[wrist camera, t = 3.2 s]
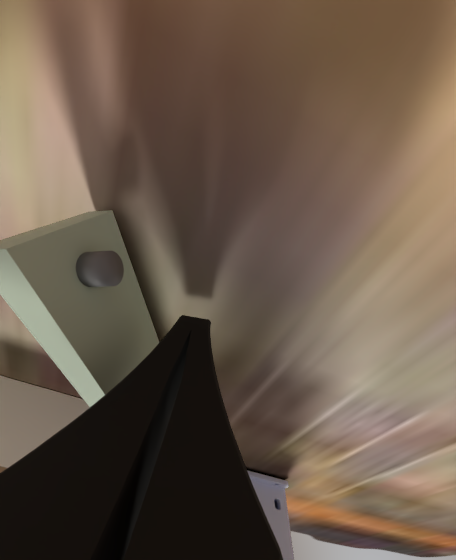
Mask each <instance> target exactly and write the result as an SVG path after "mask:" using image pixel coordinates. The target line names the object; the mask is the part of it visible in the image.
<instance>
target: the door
mask: <svg viewBox="0 0 456 560" xmlns="http://www.w3.org/2000/svg"><path fill="white" fill-rule="evenodd" d="M0 295H1V296H2V297H3V298H4V300H5V301H6V302H7V304H8V305H9V306H10V307H11V309H12V310H13V311H14V312H15V314H16V315H17V316H18V317H19V319H20V320H21V321H22V322H23V324H24V325H25V326H26V327H27V329H28V330H29V331H30V333H31V334H32V335H33V336H34V338H35V339H36V340H37V341H38V343H39V344H40V345H41V346H42V348H43V349H44V350H45V351H46V353H47V354H48V355H49V357H50V358H51V359H52V360H53V362H54V363H55V364H56V365H57V367H58V368H59V369H60V370H61V372H62V373H63V374H64V375H65V377H66V378H67V379H68V380H69V382H70V383H71V384H72V386H73V387H74V388H75V389H76V391H77V392H78V393H79V394H80V396H81V397H82V398H83V399H84V401H85V402H86V403H87V404H88V406H89V407H91V406H92V405H93V404H95V403H96V402H97V401H98V400H100V399H101V398H102V397H103V396H104V395H106V394H107V393H108V392H109V391H110V390H111V389H113V388H114V387H115V386H116V385H117V384H118V383H119V382H121V381H122V380H123V379H124V378H125V377H126V376H127V375H128V374H129V373H130V372H131V371H132V370H134V369H135V368H136V367H137V366H138V365H139V364H140V363H141V362H142V361H143V360H144V359H145V358H146V357H147V356H148V355H149V354H150V352H151V351H152V350H153V349H154V348H155V347H156V346H157V345H158V344H159V340H158V337H157V334H156V331H155V329H154V326H153V323H152V320H151V317H150V315H149V312H148V309H147V306H146V303H145V301H144V298H143V295H142V292H141V289H140V287H139V284H138V281H137V278H136V275H135V273H134V270H133V267H132V264H131V261H130V259H129V256H128V253H127V250H126V247H125V245H124V242H123V239H122V236H121V233H120V231H119V228H118V225H117V222H116V219H115V217H114V214H113V211H112V210H108V211H94V212H87V213H84V214H81V215H78V216H75V217H71V218H68V219H65V220H62V221H59V222H56V223H53V224H50V225H47V226H43V227H40V228H37V229H34V230H31V231H28V232H25V233H22V234H18V235H15V236H12V237H9V238H6V239H3V240H0Z"/></svg>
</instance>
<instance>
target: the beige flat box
mask: <svg viewBox="0 0 456 560" xmlns="http://www.w3.org/2000/svg"><path fill="white" fill-rule="evenodd" d="M89 408H90V407H89V406H88V404H87V403H86V402H85V401H84V399H81V398H77V397H74V396H70V395H67V394H63V393H60V392H56V391H53V390H49V389H46V388H42V387H39V386H35V385H32V384H28V383H25V382H21V381H18V380H14V379H11V378H7V377H4V376H0V473H1V472H2V471H4V470H5V469H7V468H8V467H10V466H11V465H13V464H14V463H16V462H17V461H19V460H20V459H21V458H23V457H24V456H26V455H27V454H28V453H30V452H31V451H33V450H34V449H35V448H37V447H38V446H39V445H41V444H42V443H44V442H45V441H46V440H48V439H49V438H50V437H52V436H53V435H54V434H56V433H57V432H58V431H60V430H61V429H63V428H64V427H65V426H67V425H68V424H69V423H71V422H72V421H73V420H75V419H76V418H77V417H78V416H80V415H81V414H82V413H84V412H85V411H86V410H87V409H89Z"/></svg>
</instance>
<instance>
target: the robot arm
mask: <svg viewBox="0 0 456 560" xmlns="http://www.w3.org/2000/svg"><path fill="white" fill-rule="evenodd" d="M210 324H211V322H210V321H209V320H207V319H201V318H196V317H190V316H184V315H182V316H181V317H180V318H179V319H178V321H177V322H176V323H175V325H174V326H173V327H172V328H171V330H170V331H169V332H168V333H167V335H166V336H165V337H164V338H163V339H162V340H161V341H160V343H159V344H158V345H157V346H156V347H155V348H154V349H153V350H152V351H151V352H150V354H149V355H148V356H147V357H146V358H145V359H144V360H143V361H142V362H141V363H140V364H139V365H138V366H137V367H136V368H135V369H134V370H132V371H131V372H130V373H129V374H128V375H127V376H126V377H125V378H124V379H123V380H122V381H121V382H119V383H118V384H117V385H116V386H115V387H114V388H113V389H111V390H110V391H109V392H108V393H107V394H106V395H104V396H103V397H102V398H101V399H100V400H98V401H97V402H96V403H95V404H93V405H92V406H91V407H90V408H89V409H87V410H86V411H85V412H84V413H82V414H81V415H80V416H78V417H77V418H76V419H75V420H73V421H72V422H71V423H69V424H68V425H67V426H65V427H64V428H63V429H61V430H60V431H58V432H57V433H56V434H54V435H53V436H52V437H50V438H49V439H48V440H46V441H45V442H44V443H42V444H41V445H39V446H38V447H37V448H35V449H34V450H33V451H31V452H30V453H28V454H27V455H26V456H24V457H23V458H21V459H20V460H19V461H17V462H16V463H14V464H13V465H11V466H10V467H8V468H7V469H5V470H4V471H2V472H1V473H0V560H294V555H293V548H292V540H291V532H290V525H289V517H288V510H287V502H286V495H285V488H287V487H288V481H286V480H282V479H278V478H274V477H271V476H267V475H263V474H259V473H255V472H252V471H248V470H247V469H246V467H245V464H244V461H243V459H242V456H241V453H240V451H239V448H238V445H237V442H236V440H235V437H234V434H233V432H232V429H231V426H230V422H229V419H228V416H227V413H226V410H225V407H224V403H223V400H222V396H221V392H220V389H219V385H218V380H217V376H216V372H215V367H214V361H213V355H212V348H211V338H210Z"/></svg>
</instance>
